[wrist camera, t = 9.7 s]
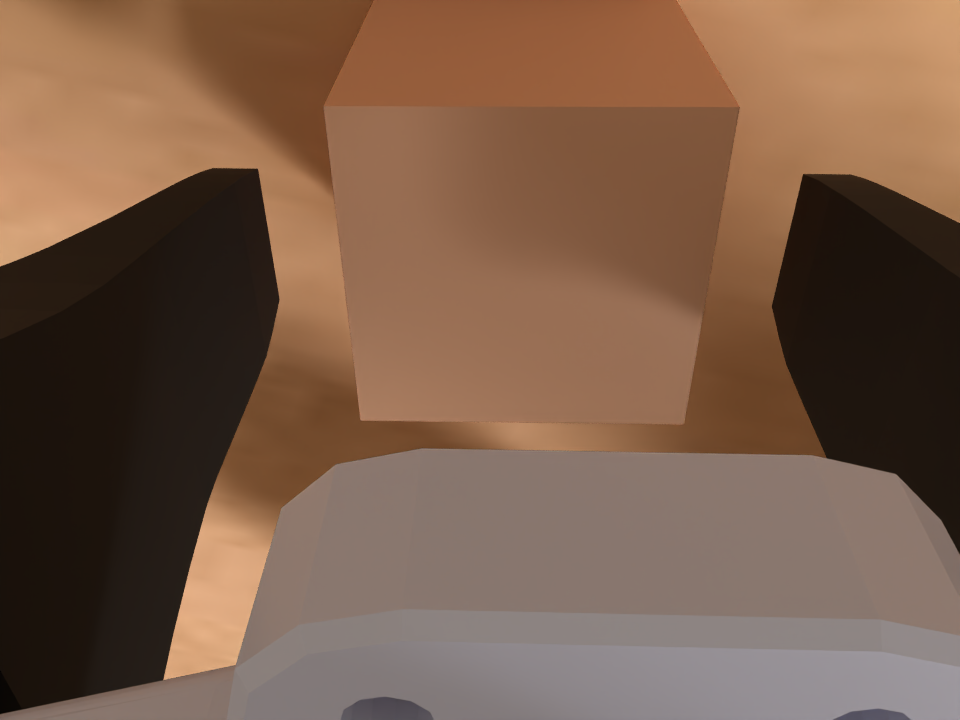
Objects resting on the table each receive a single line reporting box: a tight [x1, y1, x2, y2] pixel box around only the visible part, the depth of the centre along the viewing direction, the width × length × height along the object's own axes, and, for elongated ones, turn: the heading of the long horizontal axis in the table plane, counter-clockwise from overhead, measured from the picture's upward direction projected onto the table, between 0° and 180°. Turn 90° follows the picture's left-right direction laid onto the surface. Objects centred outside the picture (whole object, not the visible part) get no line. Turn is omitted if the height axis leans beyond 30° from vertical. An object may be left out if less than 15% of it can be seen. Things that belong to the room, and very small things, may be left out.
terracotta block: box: [323, 0, 740, 424], centre depth 13 cm, size 4×4×5 cm
